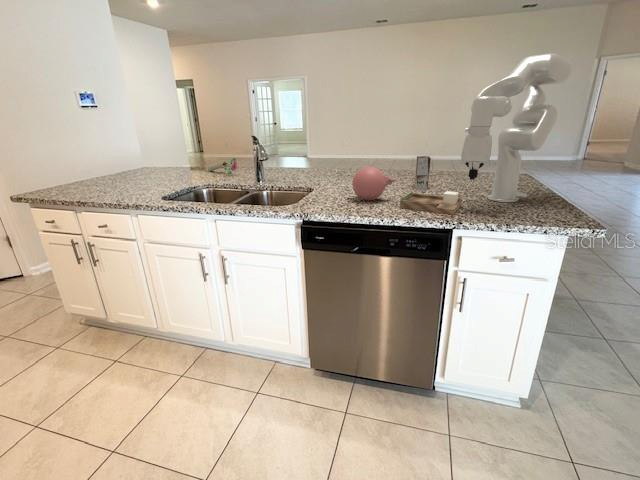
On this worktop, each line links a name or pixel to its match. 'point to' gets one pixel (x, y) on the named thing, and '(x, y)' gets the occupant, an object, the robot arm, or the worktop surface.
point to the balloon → (370, 183)
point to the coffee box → (422, 172)
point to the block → (450, 197)
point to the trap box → (428, 203)
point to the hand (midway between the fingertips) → (472, 179)
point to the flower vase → (223, 166)
